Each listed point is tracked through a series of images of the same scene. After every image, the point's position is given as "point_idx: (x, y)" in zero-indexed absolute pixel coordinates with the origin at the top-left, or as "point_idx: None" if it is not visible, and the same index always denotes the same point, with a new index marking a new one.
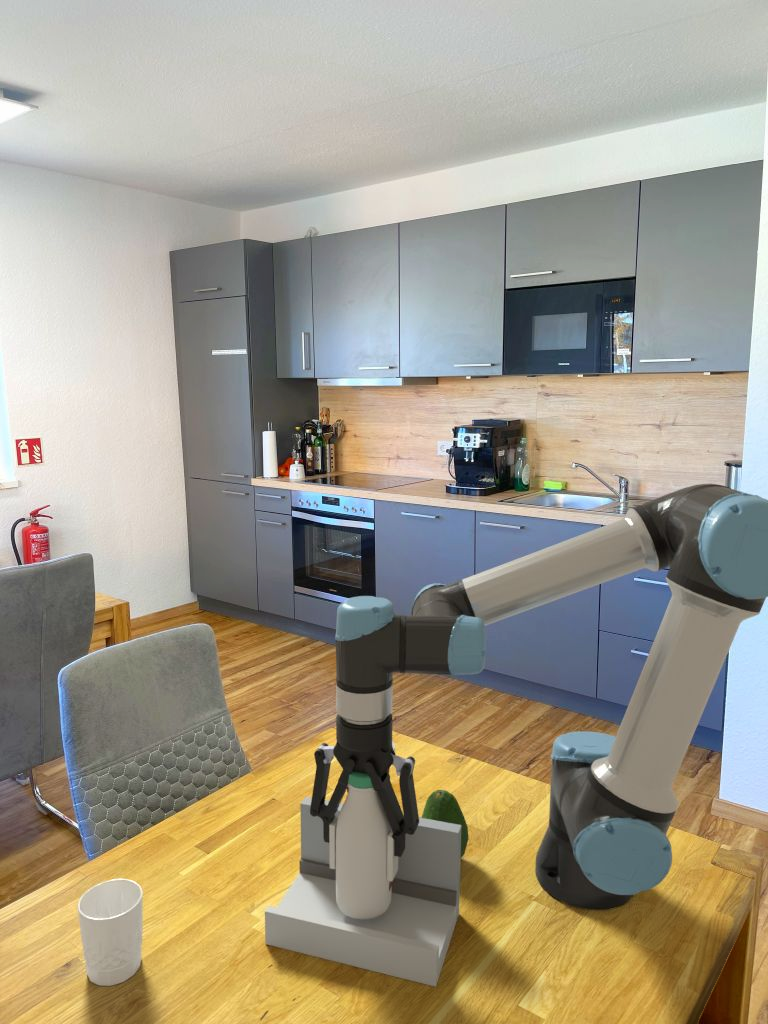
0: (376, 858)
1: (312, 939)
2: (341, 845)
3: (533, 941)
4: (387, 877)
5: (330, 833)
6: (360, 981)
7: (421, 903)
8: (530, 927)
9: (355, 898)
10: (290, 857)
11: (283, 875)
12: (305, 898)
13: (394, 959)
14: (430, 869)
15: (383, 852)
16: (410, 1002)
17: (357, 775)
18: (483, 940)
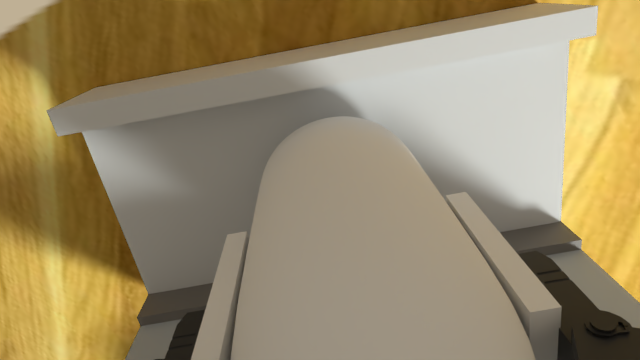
0: (257, 251)
1: (418, 32)
2: (436, 229)
3: (2, 297)
4: (243, 236)
5: (530, 277)
6: (257, 13)
7: None
8: (30, 326)
9: (326, 136)
10: None
11: (593, 222)
12: (504, 148)
13: (184, 76)
14: None
15: (240, 291)
16: (117, 14)
17: None
18: (88, 255)
